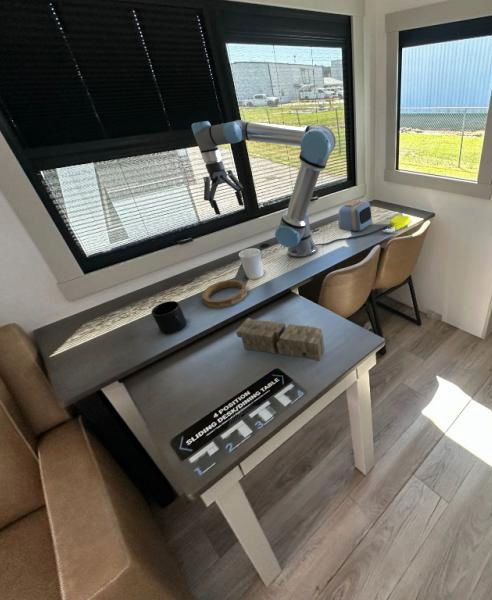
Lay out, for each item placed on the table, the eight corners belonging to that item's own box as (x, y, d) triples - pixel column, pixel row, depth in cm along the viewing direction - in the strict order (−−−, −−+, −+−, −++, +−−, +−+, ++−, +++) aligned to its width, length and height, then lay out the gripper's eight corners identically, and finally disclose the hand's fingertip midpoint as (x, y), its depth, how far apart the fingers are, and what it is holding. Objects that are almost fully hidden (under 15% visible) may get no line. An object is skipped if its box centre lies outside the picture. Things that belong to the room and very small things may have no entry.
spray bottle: (411, 220, 201) (397, 235, 184) (395, 219, 206) (380, 233, 188) (411, 216, 199) (397, 230, 182) (395, 214, 204) (380, 228, 187)
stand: (245, 281, 149) (244, 276, 147) (248, 301, 134) (246, 295, 133) (205, 290, 144) (203, 285, 143) (204, 311, 130) (201, 305, 128)
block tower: (327, 347, 109) (252, 334, 115) (325, 328, 104) (247, 315, 111) (319, 363, 102) (240, 348, 109) (317, 344, 98) (235, 329, 104)
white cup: (243, 273, 156) (237, 250, 150) (263, 268, 159) (258, 246, 152) (246, 281, 149) (239, 259, 142) (267, 276, 152) (261, 254, 145)
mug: (173, 339, 116) (163, 320, 111) (156, 329, 122) (146, 311, 117) (196, 325, 122) (187, 306, 117) (178, 316, 128) (169, 298, 123)
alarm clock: (359, 233, 190) (358, 206, 181) (337, 228, 198) (335, 203, 189) (373, 224, 201) (372, 199, 192) (351, 220, 209) (350, 196, 200)
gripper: (231, 156, 149) (245, 201, 160) (183, 168, 132) (203, 218, 143) (241, 155, 144) (255, 202, 155) (192, 168, 128) (212, 218, 139)
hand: (230, 209), depth 149 cm, fingers open, 13 cm apart
